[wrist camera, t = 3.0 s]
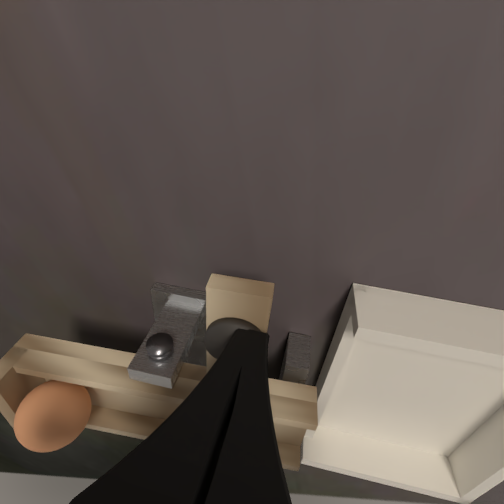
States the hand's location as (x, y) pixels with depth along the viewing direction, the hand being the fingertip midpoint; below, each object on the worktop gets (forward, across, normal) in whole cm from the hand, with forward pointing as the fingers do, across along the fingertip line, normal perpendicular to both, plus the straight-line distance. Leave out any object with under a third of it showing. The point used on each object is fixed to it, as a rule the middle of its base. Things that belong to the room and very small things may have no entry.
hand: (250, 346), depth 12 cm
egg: (-2, +9, +6) cm, 11 cm away
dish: (+5, -9, +6) cm, 12 cm away
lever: (+1, +4, +3) cm, 5 cm away
